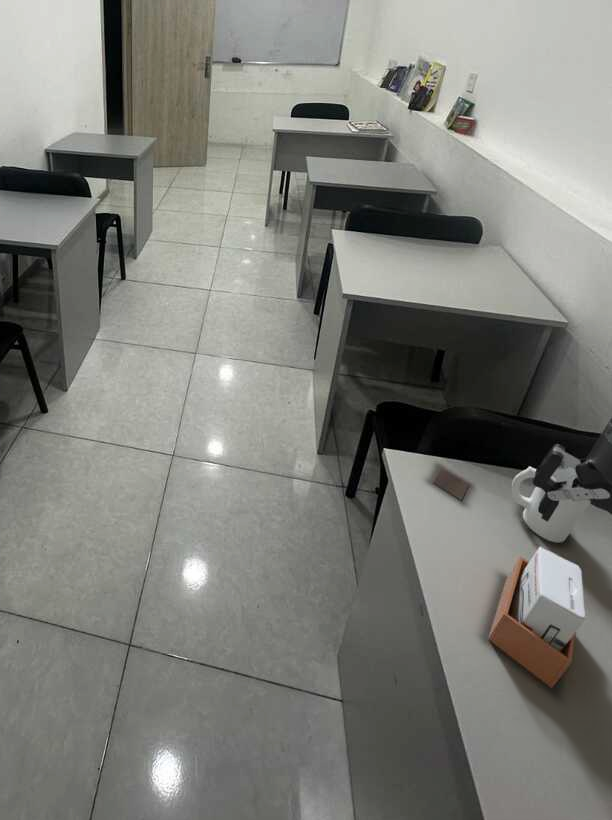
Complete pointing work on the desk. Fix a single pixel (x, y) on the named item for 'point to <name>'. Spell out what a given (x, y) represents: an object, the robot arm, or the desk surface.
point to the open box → (527, 638)
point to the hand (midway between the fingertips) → (585, 539)
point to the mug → (562, 516)
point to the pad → (451, 484)
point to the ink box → (549, 598)
